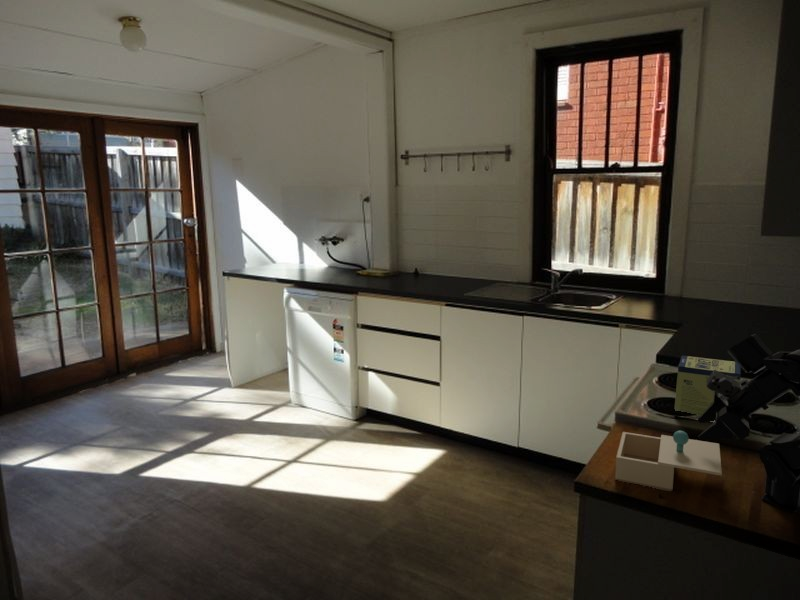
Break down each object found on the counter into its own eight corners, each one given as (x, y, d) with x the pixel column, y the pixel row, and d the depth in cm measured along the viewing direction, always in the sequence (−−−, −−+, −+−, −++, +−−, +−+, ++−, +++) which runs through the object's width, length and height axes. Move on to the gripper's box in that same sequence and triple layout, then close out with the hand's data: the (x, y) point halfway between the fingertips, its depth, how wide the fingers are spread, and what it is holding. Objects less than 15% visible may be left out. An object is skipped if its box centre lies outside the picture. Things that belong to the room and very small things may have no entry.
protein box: (736, 427, 159) (741, 373, 155) (673, 417, 166) (677, 365, 163) (735, 413, 168) (741, 361, 164) (676, 404, 175) (680, 354, 172)
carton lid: (718, 446, 137) (721, 424, 135) (721, 475, 124) (723, 451, 123) (661, 437, 142) (662, 416, 141) (657, 464, 129) (659, 441, 128)
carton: (674, 462, 142) (675, 440, 140) (672, 491, 130) (674, 467, 128) (621, 453, 147) (622, 431, 146) (615, 480, 135) (616, 457, 133)
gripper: (730, 349, 133) (673, 388, 140) (736, 376, 117) (671, 419, 124) (767, 386, 131) (708, 423, 138) (778, 419, 115) (710, 459, 122)
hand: (699, 430), depth 131 cm, fingers open, 9 cm apart
